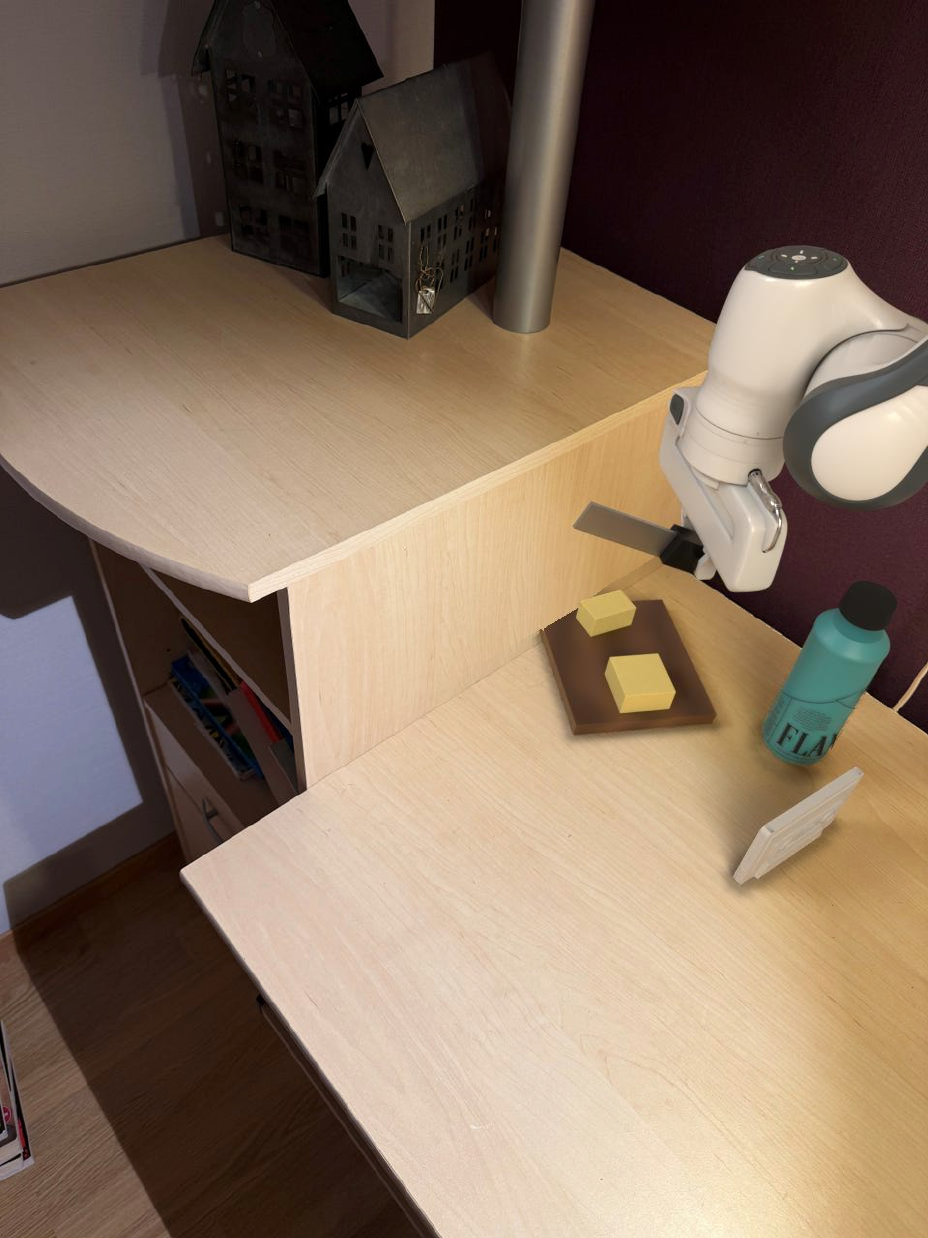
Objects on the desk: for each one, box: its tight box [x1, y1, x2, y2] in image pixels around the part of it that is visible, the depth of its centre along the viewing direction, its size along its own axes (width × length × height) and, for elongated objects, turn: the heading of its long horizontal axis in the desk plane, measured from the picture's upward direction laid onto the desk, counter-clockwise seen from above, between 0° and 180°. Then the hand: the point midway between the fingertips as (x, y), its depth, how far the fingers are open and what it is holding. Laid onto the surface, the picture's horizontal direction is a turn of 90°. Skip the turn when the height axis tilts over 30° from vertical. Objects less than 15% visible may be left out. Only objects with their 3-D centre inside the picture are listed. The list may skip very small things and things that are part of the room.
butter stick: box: [605, 653, 676, 713], centre depth 87 cm, size 5×5×2 cm
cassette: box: [732, 765, 865, 886], centre depth 75 cm, size 12×2×8 cm, turn 124°
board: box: [538, 599, 717, 736], centre depth 91 cm, size 14×16×2 cm
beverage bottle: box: [761, 580, 898, 767], centre depth 79 cm, size 6×7×20 cm
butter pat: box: [576, 588, 636, 637], centre depth 93 cm, size 5×3×2 cm, turn 116°
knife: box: [572, 500, 726, 586], centre depth 85 cm, size 18×2×3 cm, turn 100°
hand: (694, 561), depth 88 cm, fingers closed on knife, 2 cm apart
